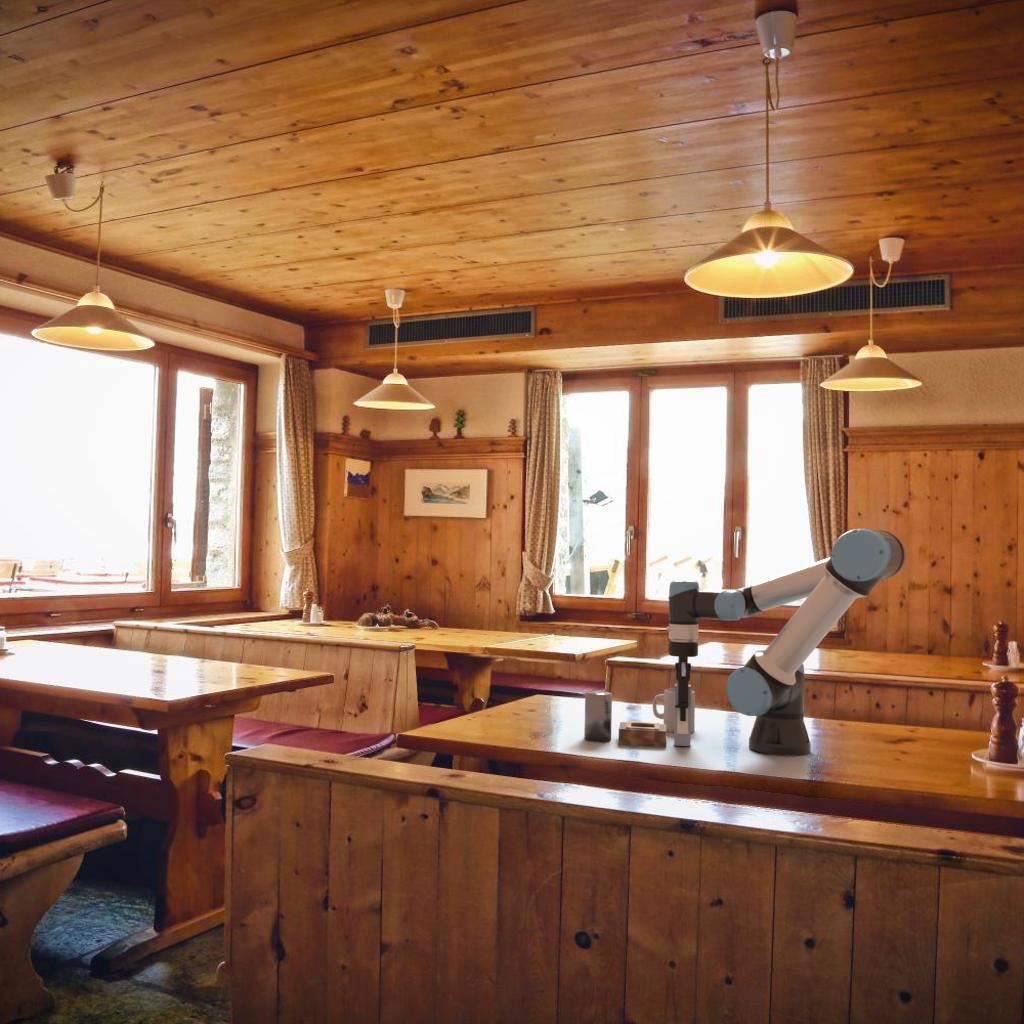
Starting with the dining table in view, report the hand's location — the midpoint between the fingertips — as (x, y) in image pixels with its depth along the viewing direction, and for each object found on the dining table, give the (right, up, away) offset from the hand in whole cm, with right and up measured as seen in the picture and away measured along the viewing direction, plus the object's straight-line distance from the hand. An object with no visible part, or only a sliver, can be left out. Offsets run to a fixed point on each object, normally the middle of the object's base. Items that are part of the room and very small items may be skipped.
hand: (682, 731), depth 245 cm
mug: (+1, -5, +22) cm, 22 cm away
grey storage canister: (-21, -3, +5) cm, 22 cm away
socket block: (-10, -3, +3) cm, 11 cm away
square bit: (0, -3, 0) cm, 3 cm away
